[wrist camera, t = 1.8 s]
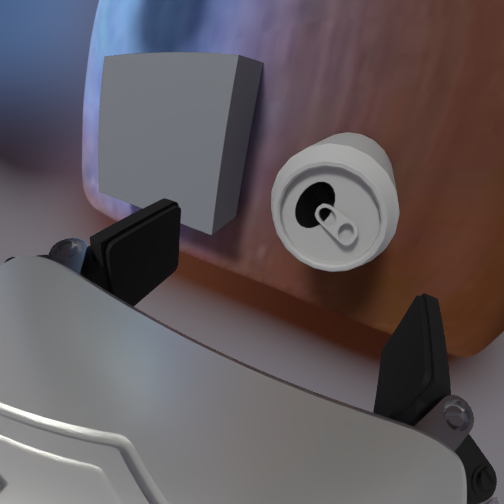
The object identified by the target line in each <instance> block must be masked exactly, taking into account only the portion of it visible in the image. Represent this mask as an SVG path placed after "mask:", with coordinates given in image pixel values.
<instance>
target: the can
mask: <svg viewBox="0 0 504 504" xmlns="http://www.w3.org/2000/svg"><path fill="white" fill-rule="evenodd" d="M271 211H272V214H273V221H274V224H275V228H276V232H277V235H278V236H279V238H280V239H281V241H282V243H283V244H284V246H285V247H286V249H287V250H288V251H289V252H290V253H292V254H293V255H294V256H295V257H296V258H297V259H298V260H299V261H301V262H303V263H305V264H307V265H309V266H311V267H313V268H315V269H320V270H324V271H329V272H336V271H348V270H351V269H353V268H356V267H358V266H361V265H363V264H365V263H367V262H370V261H372V260H373V259H374V258H375V257H377V256H378V255H379V254H380V253H381V252H382V251H384V250H385V249H386V247H387V246H388V244H389V242H390V241H391V239H392V237H393V236H394V234H395V232H396V227H397V223H398V218H399V205H398V198H397V192H396V186H395V180H394V175H393V170H392V165H391V162H390V160H389V158H388V156H387V155H386V153H385V151H384V150H383V149H382V148H381V147H380V146H379V145H378V144H377V143H376V142H375V141H374V140H372V139H370V138H368V137H366V136H364V135H362V134H356V133H349V132H346V133H341V134H335V135H332V136H330V137H328V138H326V139H324V140H322V141H320V142H318V143H316V144H314V145H312V146H310V147H308V148H306V149H304V150H303V151H301V152H299V153H298V154H296V155H294V156H293V157H291V158H290V159H289V160H288V161H287V163H286V164H285V165H284V166H283V168H282V169H281V170H280V171H279V172H278V175H277V177H276V180H275V183H274V186H273V188H272V197H271Z"/></svg>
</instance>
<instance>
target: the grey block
mask: <svg viewBox="0 0 504 504" xmlns="http://www.w3.org/2000/svg"><path fill="white" fill-rule="evenodd" d="M262 68H263V63H262V62H259V61H256V60H253V59H250V58H247V57H244V56H240V55H233V54H220V53H199V52H157V53H137V54H124V55H114V56H105V57H104V65H103V73H102V83H101V95H100V111H99V139H98V165H99V192H101V193H104V194H107V195H109V196H112V197H114V198H117V199H119V200H122V201H125V202H127V203H130V204H132V205H135V206H137V207H140V208H145V207H147V206H149V205H151V204H153V203H155V202H157V201H159V200H161V199H163V198H166V199H169V200H172V201H175V202H177V203H178V205H179V207H180V208H181V222H180V223H181V224H184V225H186V226H189V227H191V228H194V229H197V230H199V231H202V232H204V233H207V234H209V235H213V234H214V233H215V232H217V231H218V230H219V229H221V228H222V227H223V226H224V225H226V224H227V223H228V222H230V221H231V220H232V219H234V218H235V217H236V214H237V208H238V202H239V195H240V190H241V184H242V178H243V172H244V166H245V160H246V155H247V149H248V143H249V138H250V132H251V126H252V121H253V115H254V110H255V105H256V99H257V94H258V88H259V83H260V78H261V73H262Z"/></svg>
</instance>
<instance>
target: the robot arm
mask: <svg viewBox="0 0 504 504" xmlns="http://www.w3.org/2000/svg"><path fill="white" fill-rule="evenodd" d="M180 222H181V208H180V207H179V205H178V203H177V202H175V201H172V200H169V199H166V198H163V199H161V200H159V201H157V202H155V203H153V204H151V205H149V206H147V207H145V208H143V209H141V210H139V211H137V212H135V213H133V214H131V215H130V216H128V217H126V218H124V219H122V220H120V221H118V222H117V223H115V224H113V225H111V226H109V227H107V228H105V229H104V230H102V231H100V232H98V233H96V234H95V235H93V236H91V237H90V243H91V245H90V246H88V247H87V244H86V243H85V241H83V240H81V239H78V238H68V239H64V240H61V241H59V242H57V243H56V244H55V245H53V247H52V248H51V250H50V252H49V255H39V256H32V255H24V256H23V255H22V256H18V257H11V258H9V259H7V260H6V262H4V263H3V264H1V265H0V504H498V500H497V497H495V498H492V495H493V493H494V491H495V488H496V482H497V480H496V474H495V471H494V469H493V467H492V466H491V464H490V463H489V462H488V460H487V459H486V457H485V456H484V454H483V453H482V452H481V450H480V449H479V447H478V446H477V445H476V443H475V442H474V440H473V439H472V438H471V436H470V435H469V432H470V431H471V429H472V427H473V423H474V417H473V412H472V410H471V408H470V406H469V405H468V403H467V402H466V401H465V400H463V399H462V398H460V397H458V396H455V395H451V390H450V376H449V366H448V357H447V350H446V342H445V336H444V330H443V324H442V318H441V313H440V307H439V303H438V299H437V298H435V297H432V296H430V295H427V294H425V293H424V294H422V295H421V296H419V295H418V296H416V297H415V299H414V301H413V302H412V304H411V306H410V307H409V309H408V311H407V312H406V314H405V316H404V317H403V319H402V320H401V322H400V324H399V325H398V327H397V328H396V330H395V331H394V333H393V334H392V336H391V337H390V339H389V340H388V342H387V343H386V345H385V347H384V349H383V351H382V354H381V361H380V370H379V378H378V386H377V393H376V399H375V405H374V412H373V413H372V412H369V411H366V410H363V409H360V408H357V407H354V406H351V405H348V404H346V403H343V402H340V401H337V400H334V399H332V398H329V397H326V396H323V395H320V394H318V393H315V392H312V391H310V390H307V389H305V388H302V387H300V386H297V385H294V384H292V383H289V382H287V381H284V380H282V379H279V378H277V377H275V376H272V375H270V374H268V373H265V372H263V371H261V370H258V369H256V368H254V367H252V366H249V365H247V364H245V363H243V362H240V361H238V360H236V359H234V358H232V357H229V356H227V355H225V354H223V353H221V352H219V351H216V350H215V349H213V348H210V347H209V346H206V345H204V344H202V343H200V342H198V341H196V340H194V339H192V338H190V337H188V336H187V335H185V334H183V333H181V332H179V331H177V330H175V329H173V328H171V327H169V326H168V325H166V324H164V323H162V322H160V321H158V320H156V319H155V318H153V317H151V316H149V315H147V314H146V313H144V312H142V311H140V310H138V309H137V308H135V307H134V306H135V305H136V304H137V303H138V302H139V301H141V299H143V298H144V297H145V296H146V295H148V294H149V293H150V292H151V291H152V290H153V289H154V288H156V287H157V286H158V285H159V284H160V283H162V282H163V281H164V280H165V279H166V278H167V277H169V276H170V275H171V274H172V273H173V272H174V271H175V270H176V269H177V266H178V256H179V238H180Z"/></svg>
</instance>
